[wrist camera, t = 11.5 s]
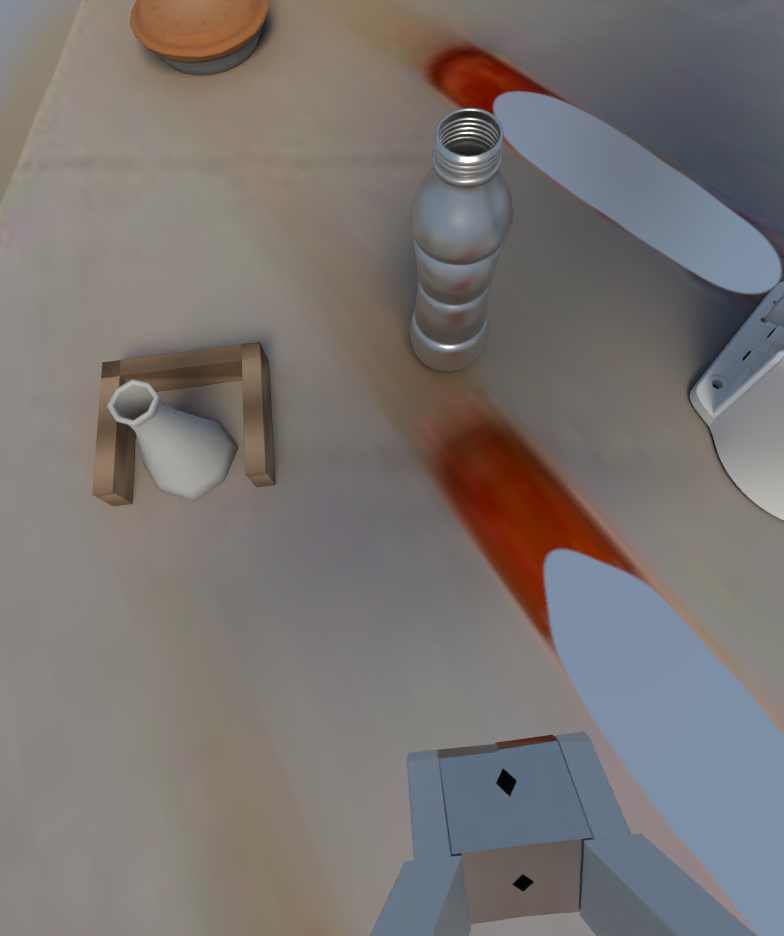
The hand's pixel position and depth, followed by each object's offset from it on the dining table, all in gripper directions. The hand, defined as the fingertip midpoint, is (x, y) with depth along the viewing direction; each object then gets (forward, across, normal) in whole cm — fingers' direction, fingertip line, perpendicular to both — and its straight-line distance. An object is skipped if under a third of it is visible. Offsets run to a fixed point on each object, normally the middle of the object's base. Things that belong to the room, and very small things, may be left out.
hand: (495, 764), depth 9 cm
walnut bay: (+36, +18, +6) cm, 40 cm away
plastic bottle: (+41, -4, +3) cm, 41 cm away
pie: (+73, +17, -29) cm, 80 cm away
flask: (+35, +18, +8) cm, 40 cm away
